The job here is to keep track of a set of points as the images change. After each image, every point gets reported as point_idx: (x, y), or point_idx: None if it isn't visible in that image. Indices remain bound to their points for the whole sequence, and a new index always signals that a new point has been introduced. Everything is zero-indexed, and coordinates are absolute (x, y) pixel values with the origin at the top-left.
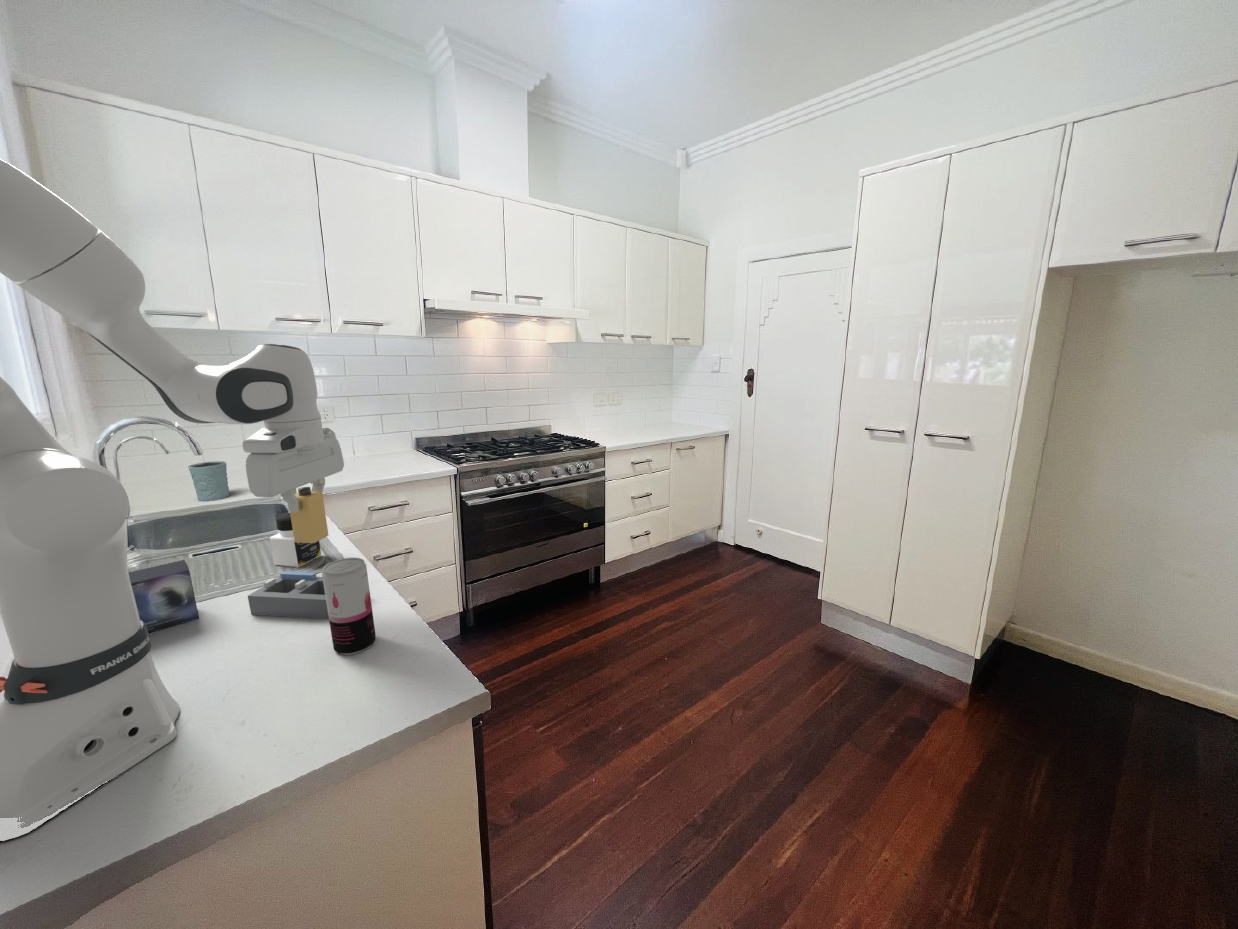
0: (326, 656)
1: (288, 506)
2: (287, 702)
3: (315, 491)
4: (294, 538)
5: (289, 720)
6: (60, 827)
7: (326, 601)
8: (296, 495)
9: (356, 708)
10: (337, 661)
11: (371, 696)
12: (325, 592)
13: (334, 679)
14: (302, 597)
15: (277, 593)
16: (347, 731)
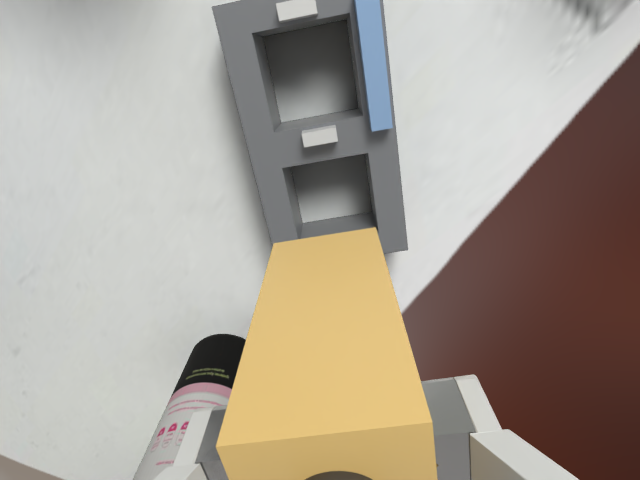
0: (181, 339)
1: (183, 438)
2: (75, 371)
3: (483, 470)
4: (271, 253)
5: (56, 399)
6: None
7: (153, 435)
8: (288, 471)
9: (118, 450)
10: (179, 365)
11: (144, 452)
12: (141, 461)
13: (144, 391)
14: (266, 201)
15: (260, 100)
16: (86, 464)
